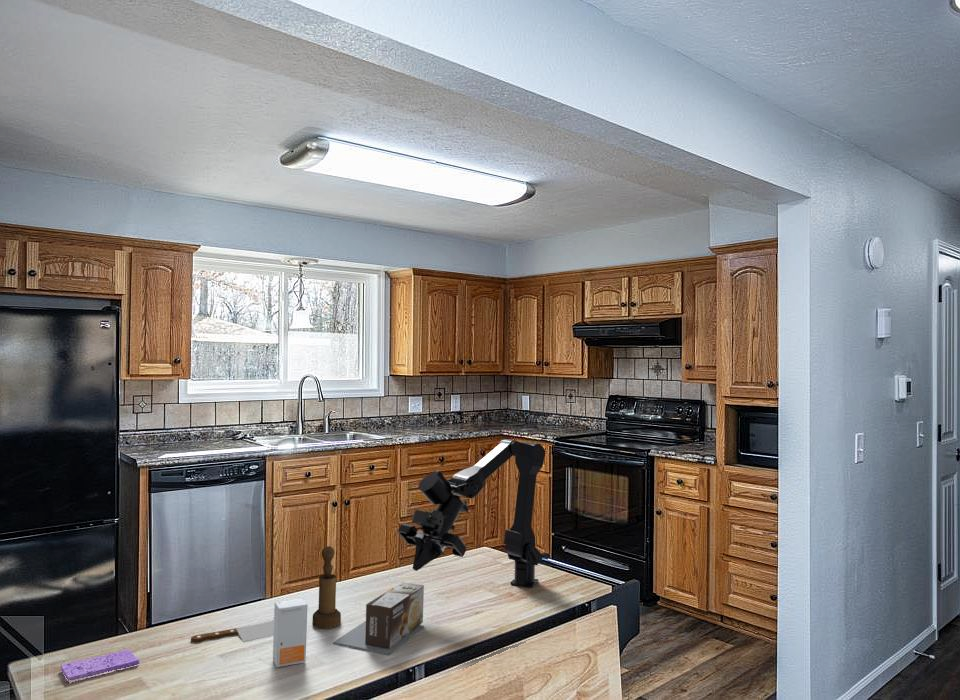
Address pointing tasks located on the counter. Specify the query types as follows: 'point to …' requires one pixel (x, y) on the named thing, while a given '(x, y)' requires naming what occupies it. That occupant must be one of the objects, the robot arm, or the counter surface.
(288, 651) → the skincare box
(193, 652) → the counter surface
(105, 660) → the sponges
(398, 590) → the coffee box
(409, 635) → the mat
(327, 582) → the mortar and pestle
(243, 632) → the kitchen cleaver
